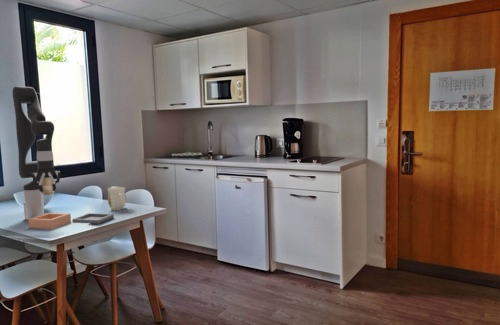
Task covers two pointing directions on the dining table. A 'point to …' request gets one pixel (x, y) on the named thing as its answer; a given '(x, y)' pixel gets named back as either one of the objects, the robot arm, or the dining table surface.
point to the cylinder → (47, 186)
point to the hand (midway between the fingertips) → (47, 191)
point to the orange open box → (49, 220)
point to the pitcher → (116, 197)
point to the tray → (94, 218)
